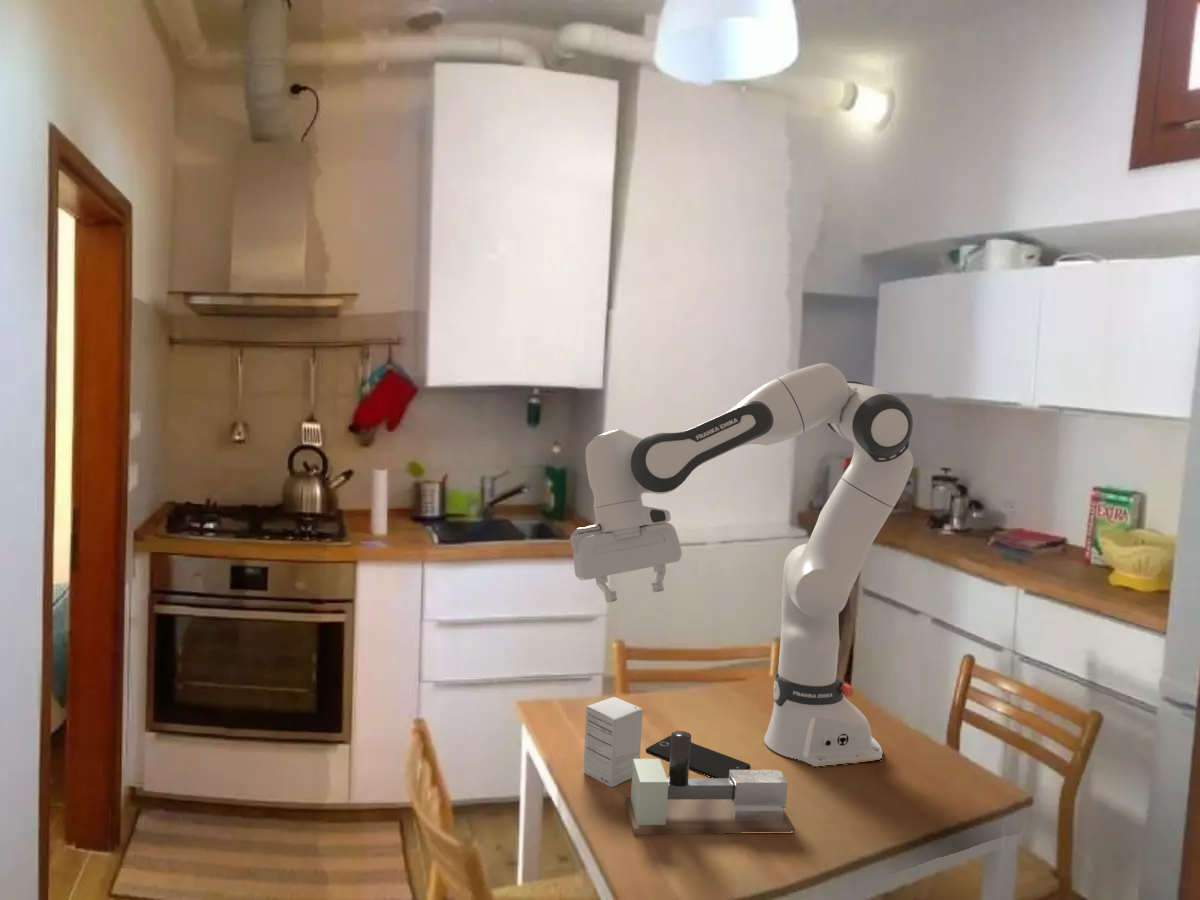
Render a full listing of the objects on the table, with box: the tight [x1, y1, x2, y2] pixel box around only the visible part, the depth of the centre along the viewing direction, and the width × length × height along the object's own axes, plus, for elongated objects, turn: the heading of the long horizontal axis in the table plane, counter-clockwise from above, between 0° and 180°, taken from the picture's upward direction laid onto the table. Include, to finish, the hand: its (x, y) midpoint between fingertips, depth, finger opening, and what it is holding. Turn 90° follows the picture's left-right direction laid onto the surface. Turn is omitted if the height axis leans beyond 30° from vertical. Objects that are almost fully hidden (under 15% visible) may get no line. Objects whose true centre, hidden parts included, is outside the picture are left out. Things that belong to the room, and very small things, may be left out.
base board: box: [625, 796, 795, 835], centre depth 151 cm, size 26×10×1 cm, turn 96°
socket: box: [630, 758, 668, 825], centre depth 150 cm, size 4×8×7 cm, turn 6°
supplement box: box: [583, 696, 643, 788], centre depth 164 cm, size 7×7×13 cm
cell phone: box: [645, 735, 751, 778], centre depth 172 cm, size 9×18×1 cm, turn 52°
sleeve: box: [726, 769, 789, 821], centre depth 152 cm, size 9×6×6 cm
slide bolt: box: [667, 730, 735, 799], centre depth 150 cm, size 15×3×10 cm, turn 96°
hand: (635, 596), depth 165 cm, fingers open, 8 cm apart
